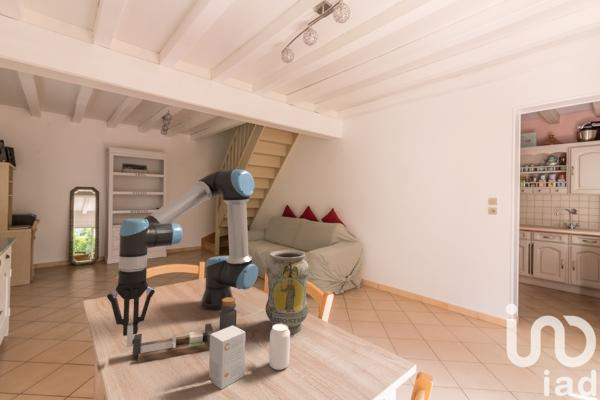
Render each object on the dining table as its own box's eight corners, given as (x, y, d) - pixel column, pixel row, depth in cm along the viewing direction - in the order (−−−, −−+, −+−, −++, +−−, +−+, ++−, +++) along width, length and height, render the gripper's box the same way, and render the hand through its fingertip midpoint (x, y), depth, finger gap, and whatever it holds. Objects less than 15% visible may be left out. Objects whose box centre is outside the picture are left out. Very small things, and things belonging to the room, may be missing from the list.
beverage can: (271, 359, 90) (272, 322, 90) (290, 360, 89) (291, 323, 89) (267, 370, 83) (268, 330, 83) (287, 372, 83) (288, 332, 83)
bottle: (238, 338, 102) (240, 298, 102) (229, 346, 96) (231, 303, 97) (225, 335, 104) (226, 295, 104) (215, 343, 98) (217, 300, 98)
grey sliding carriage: (175, 345, 94) (175, 327, 94) (175, 356, 87) (176, 337, 87) (134, 352, 89) (134, 334, 89) (131, 364, 82) (132, 344, 82)
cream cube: (201, 342, 97) (201, 330, 97) (202, 347, 93) (202, 335, 93) (189, 344, 95) (189, 332, 95) (189, 350, 92) (190, 337, 92)
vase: (264, 338, 103) (266, 257, 103) (263, 318, 120) (265, 249, 121) (311, 336, 106) (314, 257, 106) (303, 316, 123) (306, 249, 123)
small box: (231, 367, 85) (233, 324, 85) (244, 376, 80) (246, 331, 81) (207, 379, 78) (209, 333, 78) (220, 390, 74) (222, 341, 74)
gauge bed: (210, 339, 101) (210, 323, 101) (213, 352, 92) (214, 334, 92) (140, 351, 91) (141, 333, 91) (137, 367, 83) (138, 347, 83)
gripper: (157, 264, 92) (154, 335, 92) (110, 267, 87) (107, 343, 87) (156, 270, 86) (153, 346, 85) (105, 273, 80) (102, 355, 80)
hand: (130, 344), depth 86 cm, fingers closed
